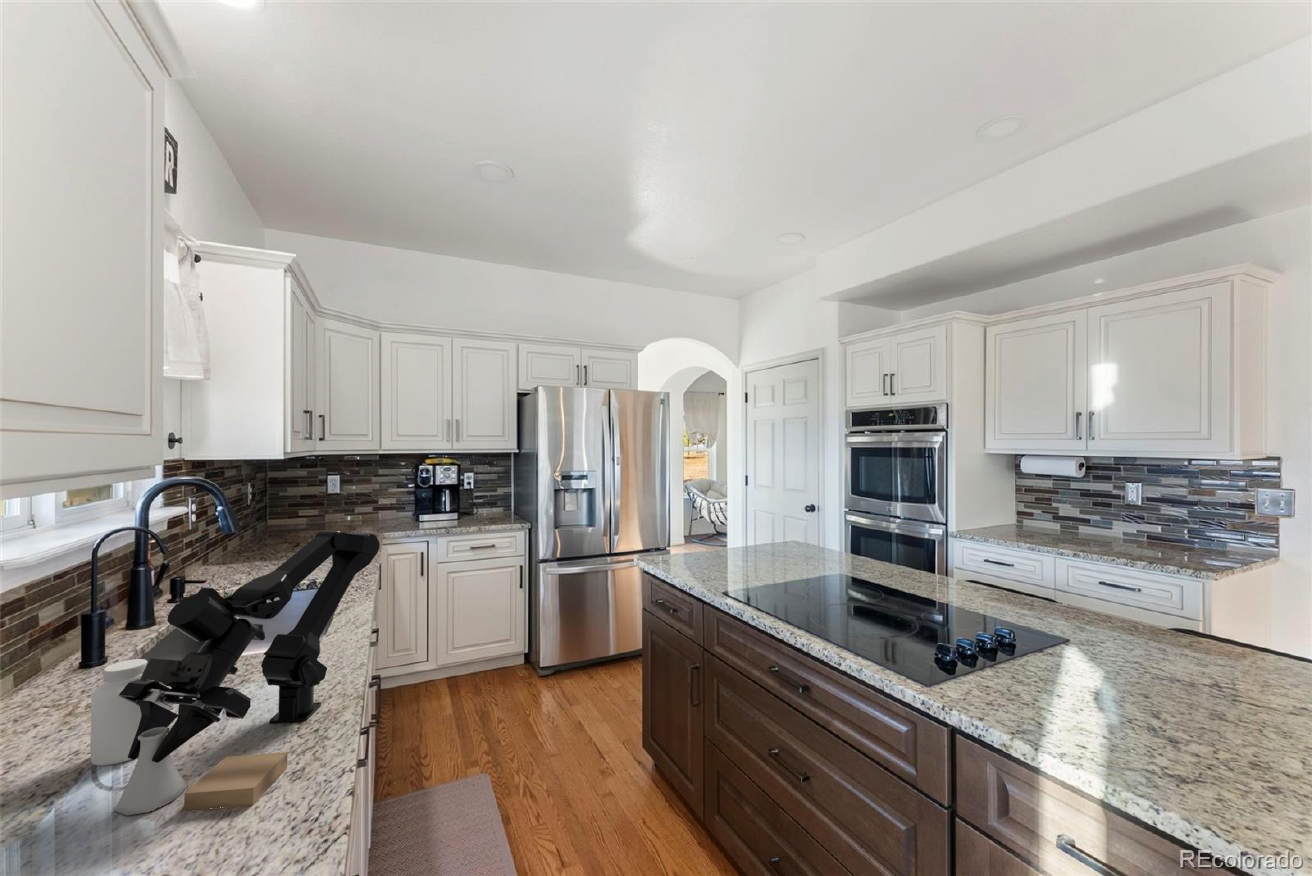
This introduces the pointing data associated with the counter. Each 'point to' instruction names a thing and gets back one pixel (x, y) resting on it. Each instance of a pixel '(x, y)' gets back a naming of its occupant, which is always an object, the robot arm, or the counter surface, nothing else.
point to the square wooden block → (236, 781)
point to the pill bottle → (114, 714)
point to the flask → (151, 778)
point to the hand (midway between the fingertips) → (142, 760)
